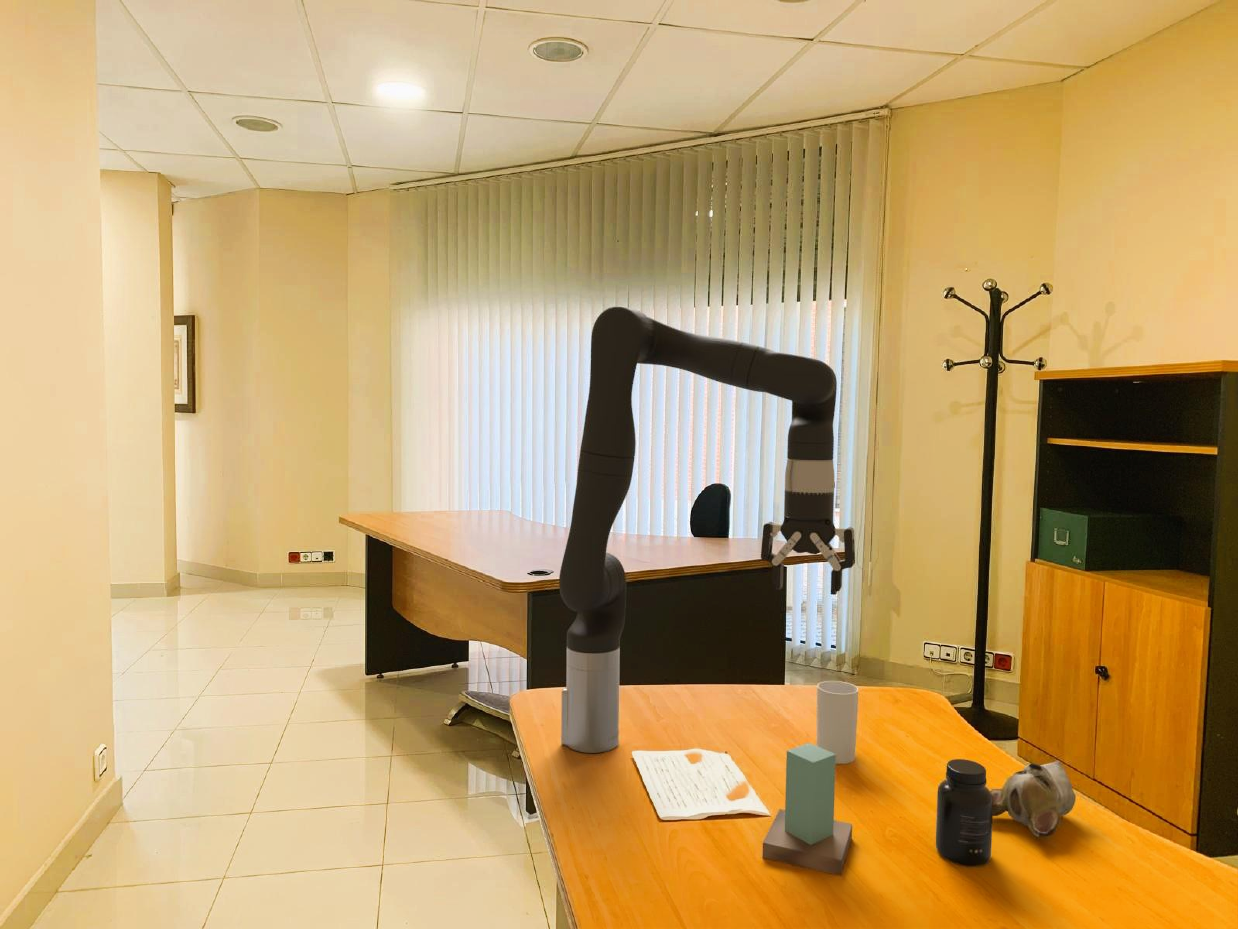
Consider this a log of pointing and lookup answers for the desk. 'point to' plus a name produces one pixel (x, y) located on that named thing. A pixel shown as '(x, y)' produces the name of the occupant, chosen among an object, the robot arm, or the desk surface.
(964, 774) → the supplement bottle
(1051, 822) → the ceramic sculpture
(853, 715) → the mug
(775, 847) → the base
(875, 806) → the desk surface
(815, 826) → the pillar
